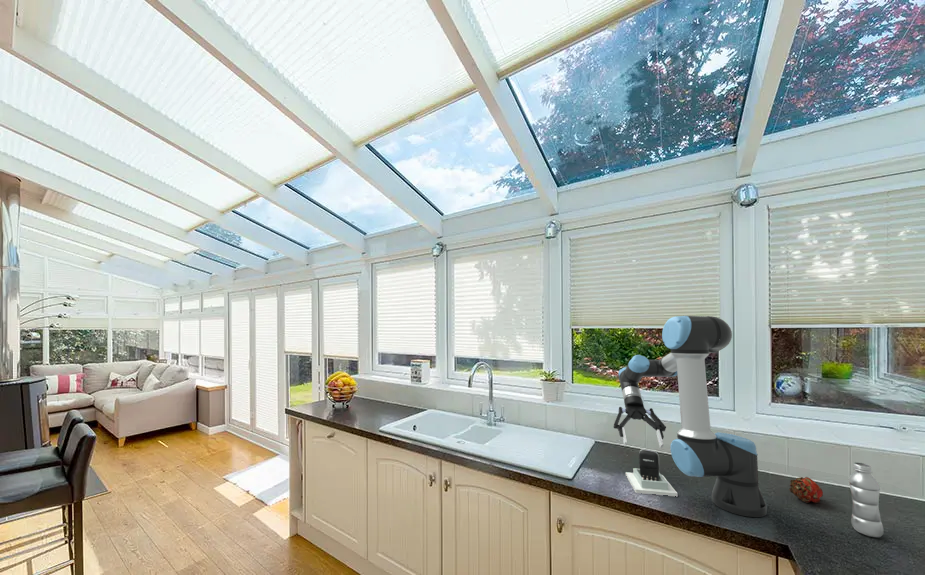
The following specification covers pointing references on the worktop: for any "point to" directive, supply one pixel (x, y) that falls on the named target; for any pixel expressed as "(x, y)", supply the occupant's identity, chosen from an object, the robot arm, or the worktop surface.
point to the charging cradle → (650, 484)
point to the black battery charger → (649, 465)
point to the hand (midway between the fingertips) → (643, 445)
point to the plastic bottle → (865, 501)
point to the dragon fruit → (806, 490)
